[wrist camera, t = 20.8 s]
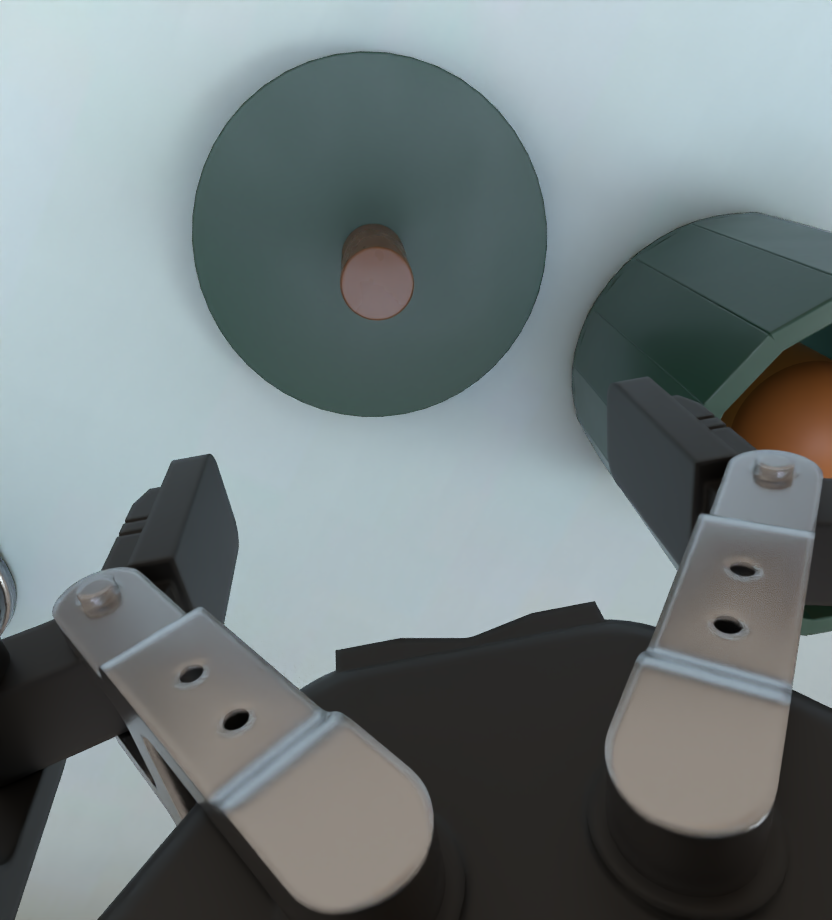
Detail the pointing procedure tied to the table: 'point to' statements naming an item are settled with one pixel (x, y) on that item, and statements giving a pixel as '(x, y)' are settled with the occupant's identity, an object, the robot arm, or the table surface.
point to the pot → (707, 321)
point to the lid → (369, 234)
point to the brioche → (789, 407)
